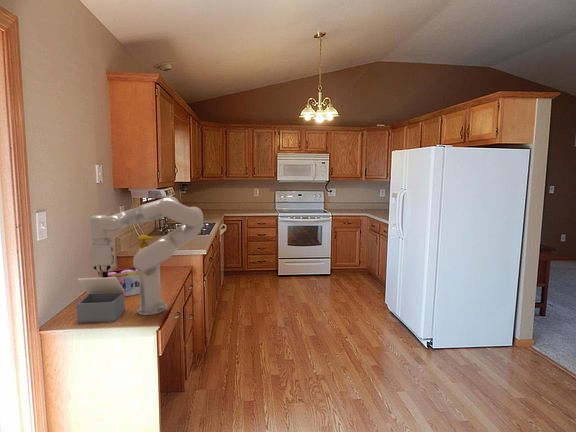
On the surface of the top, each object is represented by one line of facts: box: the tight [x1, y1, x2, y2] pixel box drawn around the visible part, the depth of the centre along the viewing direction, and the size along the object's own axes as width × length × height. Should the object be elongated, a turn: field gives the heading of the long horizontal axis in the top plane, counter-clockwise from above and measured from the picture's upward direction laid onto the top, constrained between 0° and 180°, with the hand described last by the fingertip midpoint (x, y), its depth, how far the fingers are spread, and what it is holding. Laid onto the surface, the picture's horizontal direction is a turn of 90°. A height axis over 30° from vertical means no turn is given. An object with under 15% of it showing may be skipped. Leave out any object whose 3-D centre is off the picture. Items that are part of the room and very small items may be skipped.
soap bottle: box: [137, 234, 155, 252], centre depth 228 cm, size 13×10×29 cm
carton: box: [75, 293, 126, 324], centre depth 174 cm, size 14×16×9 cm
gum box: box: [108, 267, 140, 298], centre depth 205 cm, size 24×8×14 cm, turn 123°
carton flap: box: [77, 269, 125, 295], centre depth 176 cm, size 14×16×6 cm
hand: (103, 279), depth 176 cm, fingers closed
